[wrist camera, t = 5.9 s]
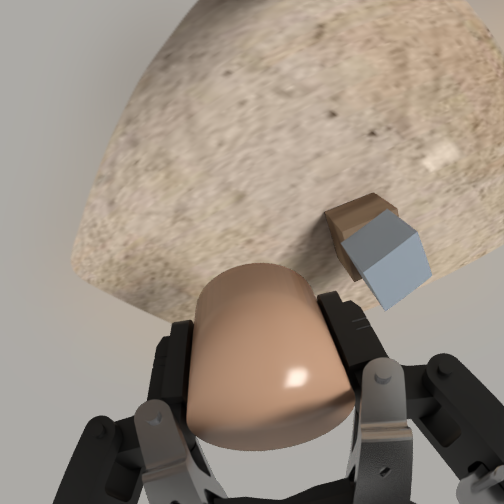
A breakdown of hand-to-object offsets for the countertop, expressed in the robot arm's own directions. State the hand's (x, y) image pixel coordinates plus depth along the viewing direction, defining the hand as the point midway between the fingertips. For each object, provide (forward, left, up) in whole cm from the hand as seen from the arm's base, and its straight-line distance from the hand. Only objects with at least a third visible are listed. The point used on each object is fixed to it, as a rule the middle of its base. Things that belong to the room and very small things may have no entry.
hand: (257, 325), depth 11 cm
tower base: (+6, +12, -18) cm, 23 cm away
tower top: (+6, +12, -13) cm, 19 cm away
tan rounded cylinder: (0, 0, -1) cm, 1 cm away
